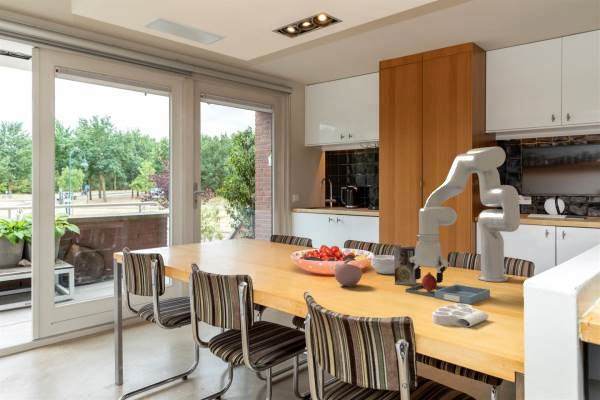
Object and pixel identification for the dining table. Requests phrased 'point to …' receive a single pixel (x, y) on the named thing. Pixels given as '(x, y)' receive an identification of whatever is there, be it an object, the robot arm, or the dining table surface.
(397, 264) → the coffee box
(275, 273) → the dining table surface
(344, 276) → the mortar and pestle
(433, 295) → the bracket
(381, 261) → the paper bowls
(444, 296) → the tray
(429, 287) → the onion
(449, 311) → the white multi-well holder
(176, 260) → the dining table surface
